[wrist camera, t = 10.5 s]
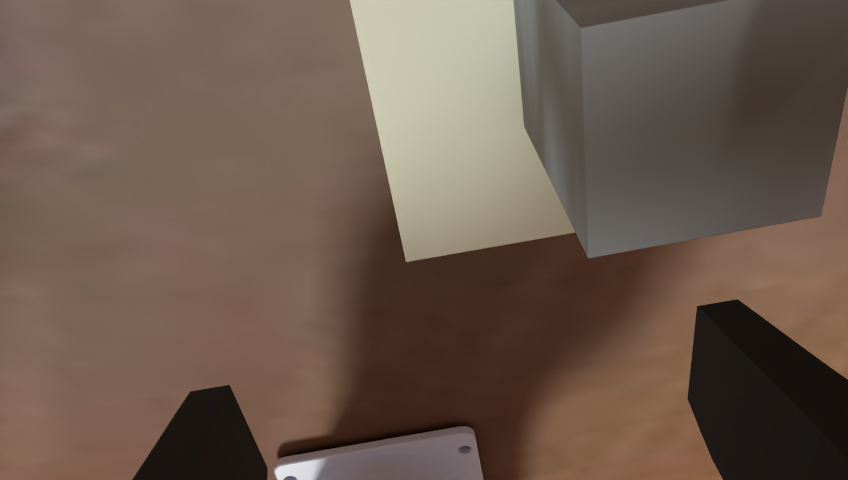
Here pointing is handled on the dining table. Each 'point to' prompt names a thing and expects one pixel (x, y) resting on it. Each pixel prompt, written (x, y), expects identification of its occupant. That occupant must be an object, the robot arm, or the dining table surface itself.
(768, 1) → the slate block
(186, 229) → the dining table surface
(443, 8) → the cream square slab
